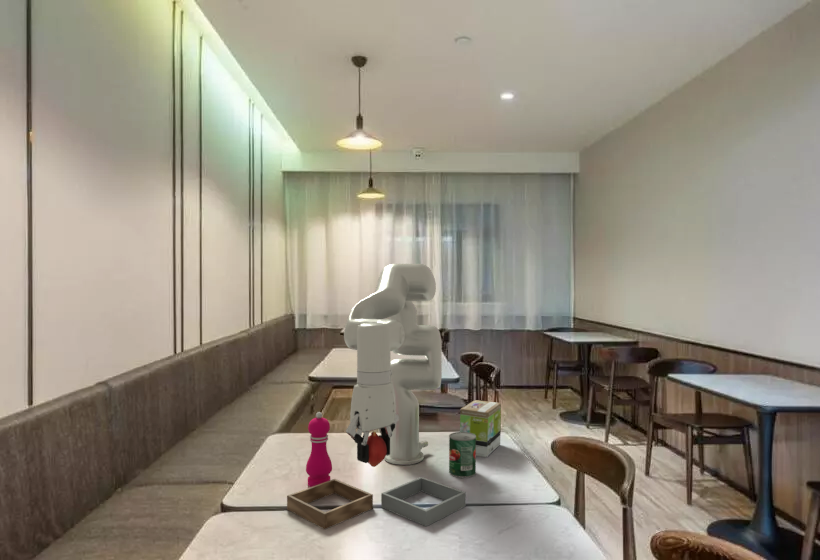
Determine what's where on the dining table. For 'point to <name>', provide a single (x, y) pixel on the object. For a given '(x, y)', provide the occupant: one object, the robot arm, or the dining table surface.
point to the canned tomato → (462, 454)
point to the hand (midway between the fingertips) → (373, 456)
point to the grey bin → (425, 517)
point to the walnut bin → (337, 515)
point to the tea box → (482, 425)
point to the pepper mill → (318, 452)
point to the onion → (376, 449)
